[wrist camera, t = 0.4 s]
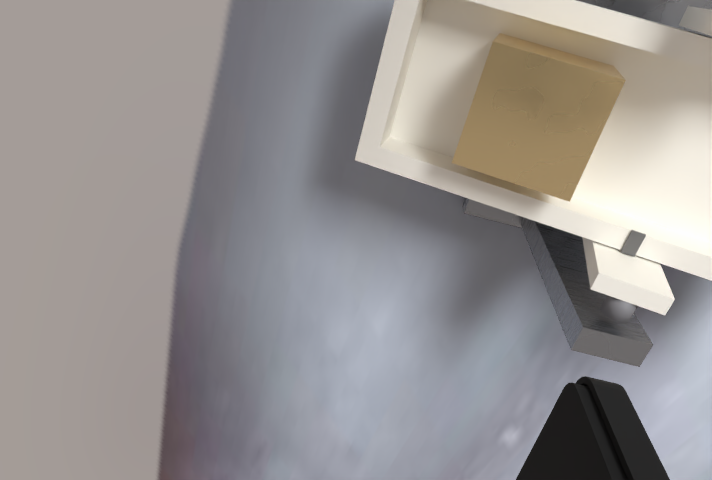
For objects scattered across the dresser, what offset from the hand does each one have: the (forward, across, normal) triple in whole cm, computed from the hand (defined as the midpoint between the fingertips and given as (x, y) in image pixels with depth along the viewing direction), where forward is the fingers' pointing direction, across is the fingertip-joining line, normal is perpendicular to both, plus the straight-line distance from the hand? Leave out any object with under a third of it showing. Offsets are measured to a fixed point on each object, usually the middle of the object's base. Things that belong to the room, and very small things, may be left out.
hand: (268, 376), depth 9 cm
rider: (+19, -8, -2) cm, 21 cm away
